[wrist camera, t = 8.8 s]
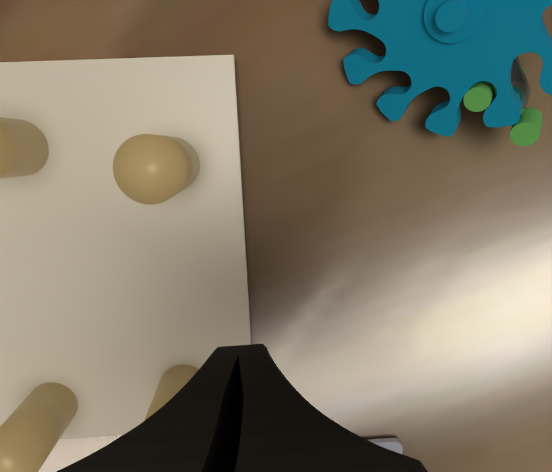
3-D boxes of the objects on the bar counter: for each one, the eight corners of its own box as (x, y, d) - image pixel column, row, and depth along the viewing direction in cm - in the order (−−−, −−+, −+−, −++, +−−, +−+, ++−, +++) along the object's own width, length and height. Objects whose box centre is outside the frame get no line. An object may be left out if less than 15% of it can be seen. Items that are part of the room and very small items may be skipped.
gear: (276, -30, 17) (570, -308, 10) (334, -59, 20) (580, -278, 13) (402, 189, 20) (683, 107, 13) (433, 131, 24) (666, 43, 17)
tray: (255, 412, 23) (256, 495, 17) (-129, 440, 22) (-253, 536, 16) (234, 59, 19) (227, 24, 13) (-232, 75, 18) (-439, 44, 13)
